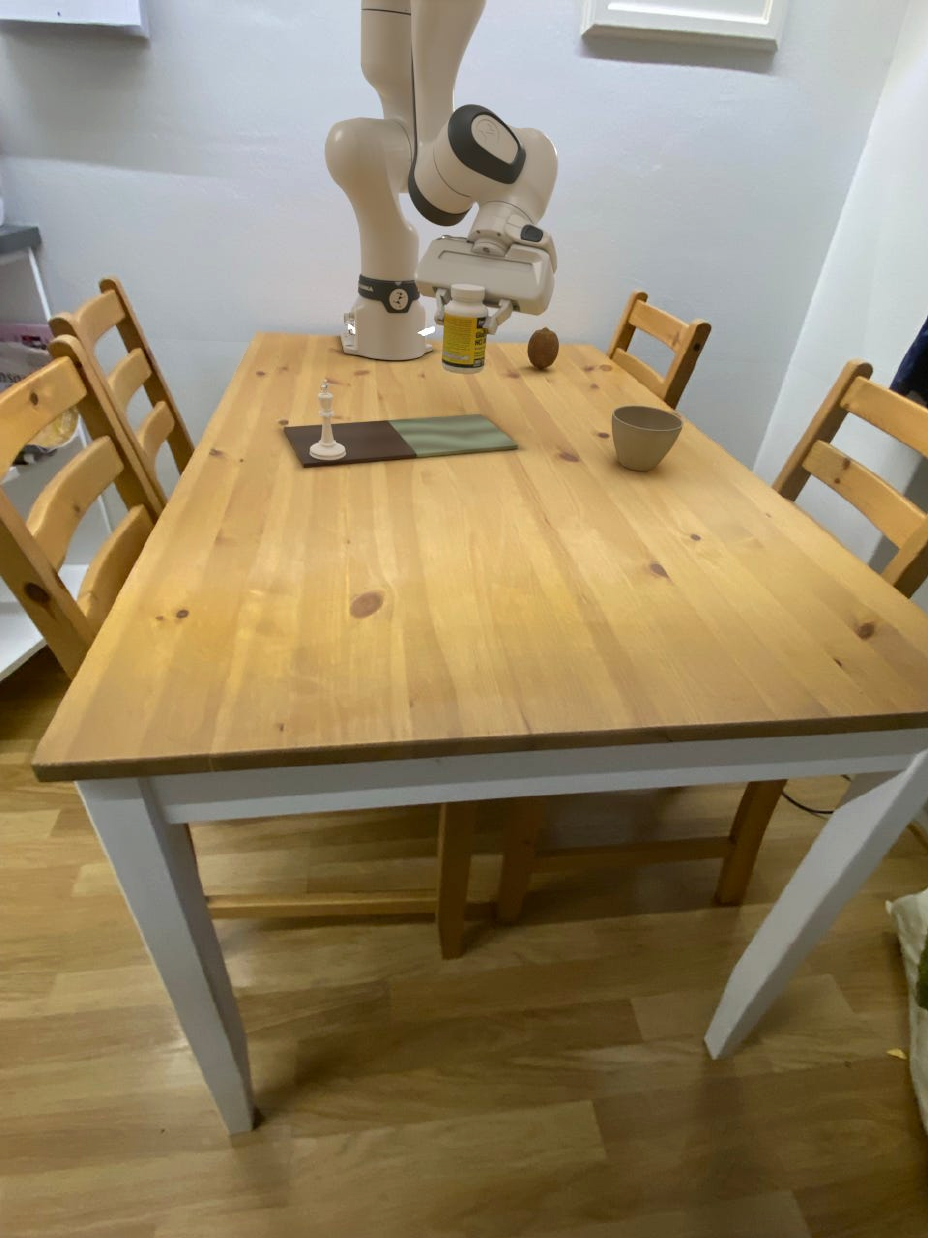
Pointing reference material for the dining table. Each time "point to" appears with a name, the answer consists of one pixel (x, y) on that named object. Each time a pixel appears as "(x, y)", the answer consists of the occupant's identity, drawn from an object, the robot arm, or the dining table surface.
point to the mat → (402, 439)
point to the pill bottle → (464, 330)
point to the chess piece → (326, 430)
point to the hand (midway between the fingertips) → (463, 327)
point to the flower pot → (643, 435)
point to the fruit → (543, 348)
